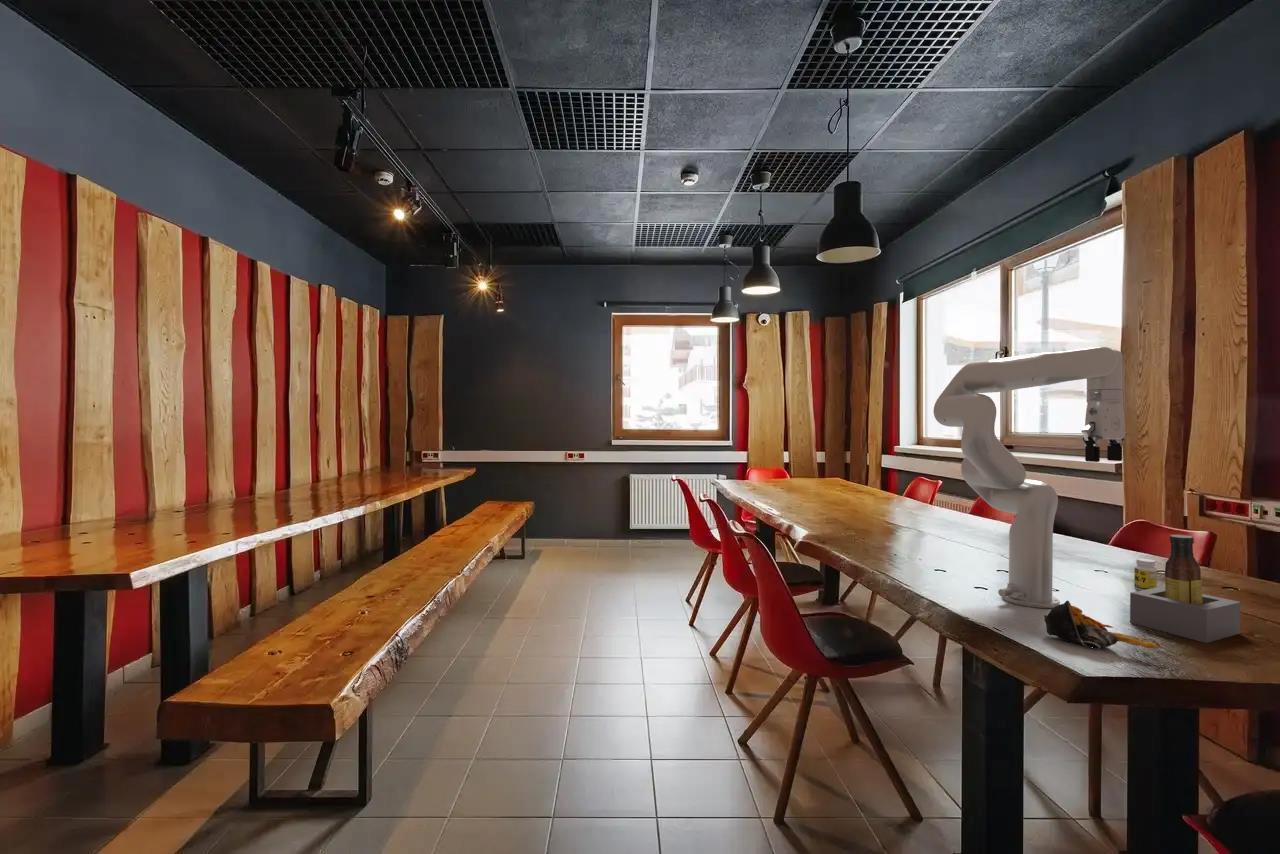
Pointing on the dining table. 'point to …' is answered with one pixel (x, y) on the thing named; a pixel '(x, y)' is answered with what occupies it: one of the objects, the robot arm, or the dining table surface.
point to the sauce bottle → (1183, 572)
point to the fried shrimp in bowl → (1087, 629)
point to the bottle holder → (1185, 615)
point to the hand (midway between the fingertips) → (1103, 461)
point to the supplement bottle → (1145, 574)
